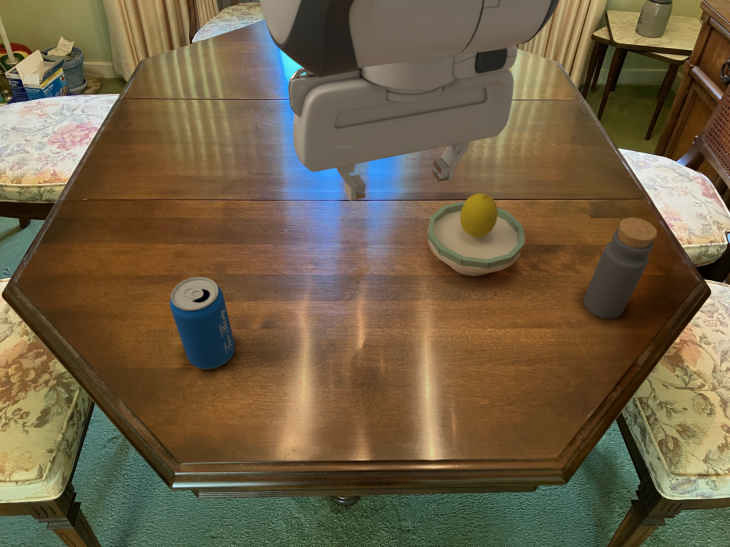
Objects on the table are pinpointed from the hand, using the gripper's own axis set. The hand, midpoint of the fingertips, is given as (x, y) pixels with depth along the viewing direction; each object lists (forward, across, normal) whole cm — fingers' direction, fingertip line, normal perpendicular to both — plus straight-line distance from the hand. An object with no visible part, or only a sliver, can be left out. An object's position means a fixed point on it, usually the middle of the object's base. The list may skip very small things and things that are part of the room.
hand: (399, 186), depth 55 cm
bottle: (+29, +35, -1) cm, 46 cm away
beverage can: (+29, -22, +10) cm, 38 cm away
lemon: (+24, +21, +15) cm, 35 cm away
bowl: (+29, +21, +15) cm, 39 cm away
